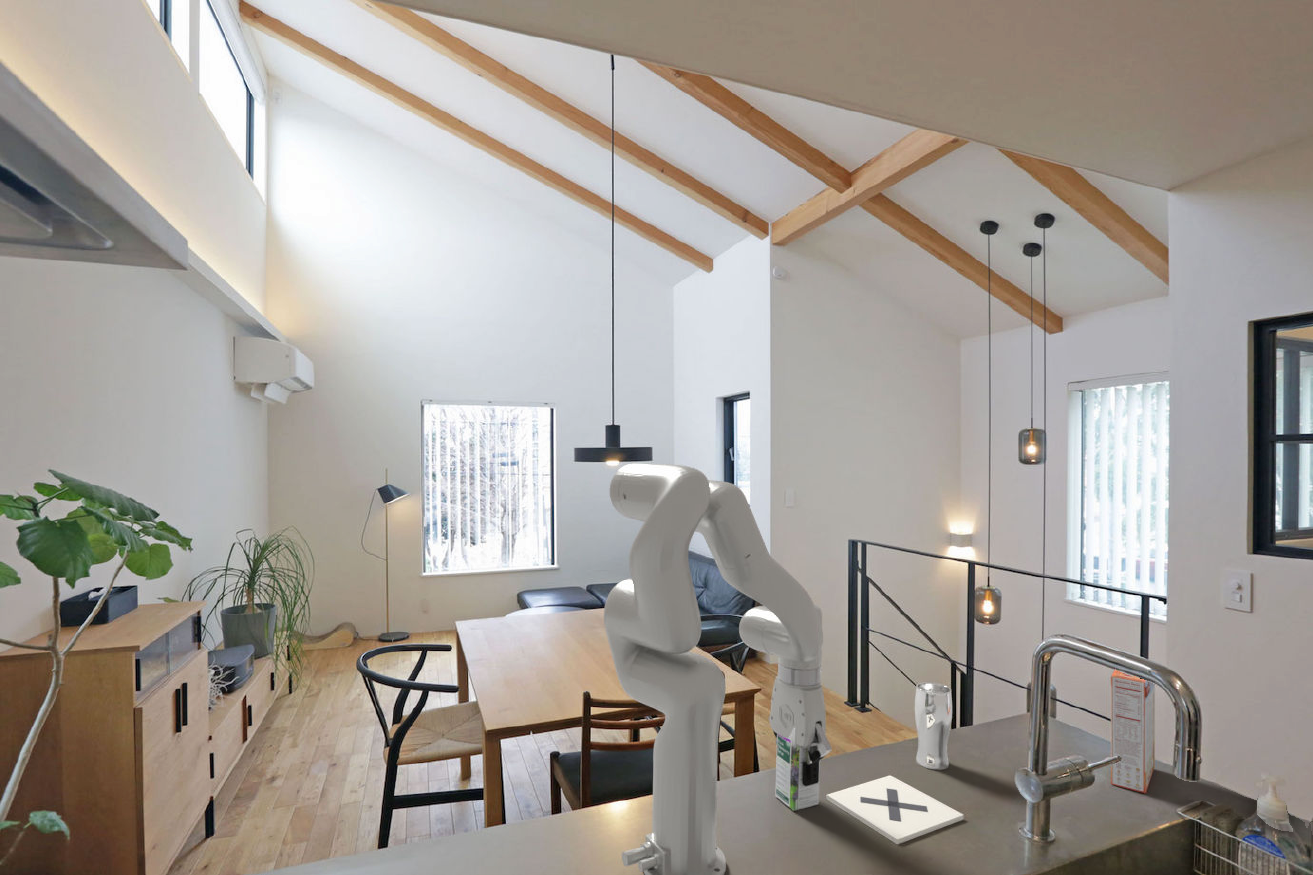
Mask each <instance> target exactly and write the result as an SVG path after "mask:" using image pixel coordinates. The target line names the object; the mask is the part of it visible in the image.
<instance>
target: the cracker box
mask: <svg viewBox="0 0 1313 875" xmlns="http://www.w3.org/2000/svg"><path fill="white" fill-rule="evenodd" d="M1155 687H1156V683H1155V684H1153V683H1151V682H1149V681H1147V680H1144V679H1140V678H1138V677H1136V676H1130V675H1127V674H1125V673H1122V672H1120V671H1117V670H1116V669H1115V670H1113V672H1112V674H1111V676H1110V758H1111V757H1113V756H1120V757H1121V758H1122V759H1121V761H1119V762H1117V763H1115V764H1113V765H1111V764H1110V784H1111V786H1112V785H1113V786H1115V787H1120V788H1123V789H1127V790H1131V791H1134V792H1138V793H1143V794H1146V793H1147V791H1148V789H1149V786H1150V783H1151V782H1150V781H1151V779H1152V775H1153V773H1154V770H1155V766H1156V765H1155V758H1156V755H1155V752H1156V751H1155V750H1156V748H1155V741H1156V740H1155V739H1156V737H1155V735H1156V734H1155V731H1156V730H1155V729H1156V727H1155V726H1156V725H1155V724H1156V723H1155V722H1156V720H1155V717H1156V716H1155V714H1156V713H1155V712H1156V711H1155V710H1156V707H1155V706H1156V705H1155V704H1156V703H1155V702H1156V701H1155V699H1156V697H1155V696H1156V695H1155V694H1156V688H1155Z"/></svg>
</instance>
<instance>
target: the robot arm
mask: <svg viewBox="0 0 1313 875" xmlns="http://www.w3.org/2000/svg"><path fill="white" fill-rule="evenodd" d="M609 498H610V501H611V503H612V506H613V507H614V508H615V510H616V511H617V512H618V513H619V514H621V515H622V516H624V517H625V518H628V519H631V520H636V521H640V522H643V524H642V526H641V527H640V529H639V531H638V533H637V534H636V537H635V538H634V540H633V542H632V546H631V548H630V552H629V556H628V558H629V561H628V562H629V572H630V576H631V578H628V579H624V580H621V581H620V582H618V583H617V584H616V585H615V586H613V588H611V590H610V592H609V593H608V595H607V598H606V601H605V604H604V608H603V623H604V624H603V625H604V629H605V633H606V637H607V641H608V645H609V648H610V649H609V650H610V653H611V656H612V660H613V664H614V668H615V672H616V675H617V680H618V682H619V684H620V686H621V688H622V690H623V691H624V693H625V694H626V695H627V696H629V698H631V699H632V700H634V701H636V702H639V703H640V704H643V705H645V706H647V707H650V708H653V709H655V710H657V711H659V712H660V713H662V714H664V717H665V719H664V723H663V724H662V726H661V728H660V729H659V731H658V732H657V734H656V737H655V740H654V743H653V751H652V752H653V754H652V755H653V756H652V758H653V760H652V762H653V763H652V764H653V768H652V769H653V770H652V771H653V773H652V775H653V777H652V778H653V779H652V820H651V821H652V822H651V824H652V827H651V828H652V829H651V833H647V834H645V842H644V843H642V844H640V847H637V848H631V849H629V850H626V851H622V852H621V861H622V863H623V866H624V867H626V868H627V867H630V866H633V865H636V864H637V867H638V870H639V871H640V872H643V874H644V875H725V873H726V870H727V858H726V856H725V854H724V852H723V850H721V848H720V847H718V845H717V805H718V804H717V802H718V801H717V800H718V798H717V796H718V794H717V792H718V744H719V728H720V721H721V716H722V712H723V706H724V701H725V697H726V687H727V686H726V685H727V684H726V678H725V676H724V673H723V672H722V669H721V668H720V667H719V666H718V664H716V662H715V661H713V660H712V659H709V658H708V657H706V656H704V655H701V654H699V653H696V652H694V651H693V649H694V648H696V646H697V645H698V643H699V641H700V639H701V634H702V619H701V613H700V608H699V604H698V600H697V595H696V592H695V591H696V590H695V587H694V582H693V578H692V573H691V569H690V563H689V550H690V545H691V542H692V538H693V536H694V533H699V534H701V535H702V536H703V538H704V540H705V542H706V544H707V546H708V549H709V551H710V553H711V555H712V558H713V560H714V561H715V564H716V567H717V569H718V571H719V573H720V575H721V577H722V579H723V580H724V581H725V582H726V583H728V584H729V585H730V586H731V587H733V588H734V589H736V591H738V592H740V593H742V594H743V595H745V596H747V597H749V598H751V599H752V600H754V601H756V603H759V604H760V605H759V606H755V607H752V608H751V609H749V610H747V611H746V612H745V613H744V614H743V616H742V617H741V619H740V622H739V626H738V632H739V637H740V639H741V641H742V642H743V643H744V644H745V645H746V646H747V647H749V648H751V649H753V650H755V651H758V652H762V653H764V654H768V655H773V656H777V658H778V660H777V666H778V667H777V675H776V676H775V678H774V679H775V680H774V683H773V687H772V692H771V693H772V694H771V700H770V701H771V702H770V715H769V716H768V721H769V724H770V728H771V730H772V732H773V734H774V737H775V745H776V746H777V734H779V735H780V736H782V737H784V738H786V739H787V738H788V737H789V736H790V734H791V732H792V729H793V728H796V745H798V746H799V747H802V748H803V751H804V756H805V761H806V762H803V778H802V783H803V785H804V786H809V785H812V784H816V783H818V781H819V761H820V762H821V761H822V760H823V759H824V758H825V757H826V756H827V755H828V754H829V753H831V752H832V745H831V744H830V742H829V739H828V737H827V736H826V733H827V732H826V730H827V729H826V728H827V724H826V721H827V720H826V705H825V704H826V703H825V697H824V696H825V695H824V689H823V686H822V658H823V657H822V656H823V655H822V654H823V653H822V652H823V651H822V650H823V645H824V644H823V643H824V631H823V613H822V612H823V611H822V610H821V608H820V607H819V606H818V605H817V604H814V601H813V600H812V598H811V596H810V594H809V593H808V591H806V589H805V588H804V587H803V585H802V584H801V583H800V582H799V581H798V580H797V579H796V578H795V577H793V575H791V574H790V572H788V570H786V568H785V567H784V566H782V565H781V564H780V563H779V562H778V561H777V560H776V559H774V558H773V557H772V556H771V554H770V553H769V551H768V549H767V546H766V543H765V540H764V539H763V535H762V533H761V531H760V529H759V526H758V524H757V521H756V519H755V517H754V513H753V511H752V509H751V507H750V505H749V502H748V500H747V497H746V495H745V494H744V492H743V490H741V488H740V487H738V486H737V485H735V484H734V483H731V482H728V481H722V480H721V481H720V480H713V479H712V480H711V479H708V477H707V476H706V475H705V474H704V473H703V472H702V471H700V470H699V469H697V468H695V467H690V466H687V465H683V464H682V465H681V464H679V465H678V464H667V463H666V464H664V463H663V464H661V463H644V462H643V463H641V462H635V463H629V464H625V465H624V466H622V467H621V468H619V469H618V470H617V471H616V472H615V473H614V474H613V476H612V478H611V481H610V483H609ZM790 726H793V727H790ZM789 727H790V728H789ZM813 739H814V742H813ZM810 747H813V750H814V752H813V753H812V754H811V752H810ZM819 782H820V781H819Z"/></svg>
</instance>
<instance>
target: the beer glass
mask: <svg viewBox="0 0 1313 875" xmlns="http://www.w3.org/2000/svg"><path fill="white" fill-rule="evenodd" d="M915 688H916V689H915V697H914V717H915V720H914V721H915V725H916V731H917V739H918V743H917V744H918V745H917V747H918V748H917V752H916V757H915V761H916V763H917V764H918V765H920V766H921V767H923V768H926V769H930V770H935V771H942V770H946V769H948V768H949V767H950V763H949V758H948V740H949V736H950V731H951V726H952V719H953V700H952V699H953V698H952V688H950V687H949V686H947V685H945V684H942V683H937V682H930V681H929V682H927V681H926V682H925V681H924V682H918V683H917V684H916V686H915Z"/></svg>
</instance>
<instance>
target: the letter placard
mask: <svg viewBox="0 0 1313 875" xmlns="http://www.w3.org/2000/svg"><path fill="white" fill-rule="evenodd" d="M826 800H827V801H828V802H830V803H832V804H833V805H834V806H836V807H838V808H839V809H841V810H842V811H845V812H846V813H847V814H849V815H851V816H852V817H853V818H856V820H857V821H859V822H861V823H863V824H865V825H866V826H867V827H870V828H871V829H872V830H873V831H875V832H876V833H879V834H880V835H882V836H884V838H886V839H887V840H890V841H891V842H892V843H894V844H896V845H900V844H903V843H905V842H907V841H911V840H913V839H916V838H919V837H920V836H924V835H927V834H929V833H932V832H934V831H937V830H940V829H942V828H944V827H947V826H950V825H953V824H955V823H958V822H961V821H964V814H963V813H962V812H960V811H957V810H956V809H953V808H952V807H950V806H948V805H946V804H945V803H942V802H941V801H939V800H937V799H935V798H933V797H932V796H930V795H928V794H925V793H924V792H923V791H920V790H918V788H915V787H913V786H911V785H910V784H907V783H905V782H903V781H902V780H900V779H898V778H896V777H894V776H892V775H890V774H889V775H887V776H884V777H883V776H882V777H880V778H877V779H873V780H870V781H866V782H864V783H861V784H857V785H853V786H850V787H848V788H843V789H842V790H838V791H834V792H831V793H828V794H826Z"/></svg>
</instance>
